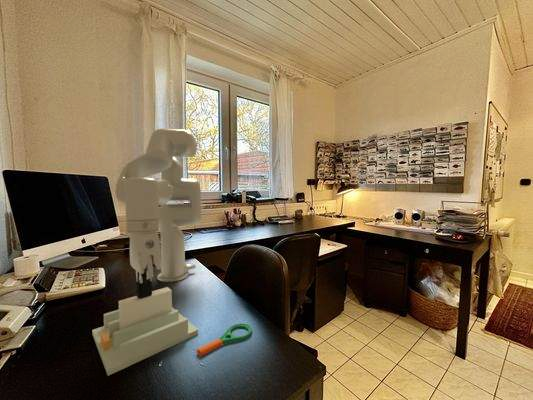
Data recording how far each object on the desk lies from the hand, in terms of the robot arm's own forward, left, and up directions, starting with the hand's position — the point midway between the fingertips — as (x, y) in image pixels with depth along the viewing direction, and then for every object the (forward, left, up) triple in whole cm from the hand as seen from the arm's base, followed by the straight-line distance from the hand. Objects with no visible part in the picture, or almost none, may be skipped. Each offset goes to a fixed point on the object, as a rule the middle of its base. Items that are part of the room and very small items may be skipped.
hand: (144, 296), depth 61 cm
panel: (-1, 0, -9) cm, 9 cm away
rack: (0, 0, -10) cm, 10 cm away
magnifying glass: (-14, +17, -11) cm, 24 cm away
